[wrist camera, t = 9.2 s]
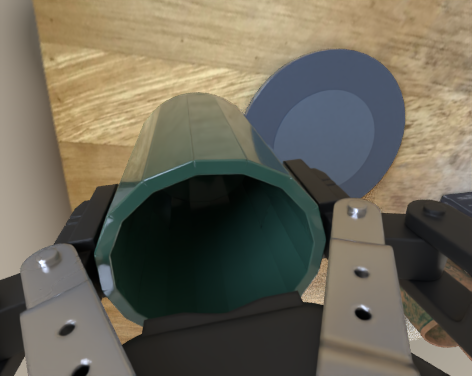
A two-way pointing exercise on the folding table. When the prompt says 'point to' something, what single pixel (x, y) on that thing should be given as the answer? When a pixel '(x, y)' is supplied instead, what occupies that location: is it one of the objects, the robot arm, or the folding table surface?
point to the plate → (333, 116)
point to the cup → (205, 217)
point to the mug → (424, 321)
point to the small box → (459, 202)
